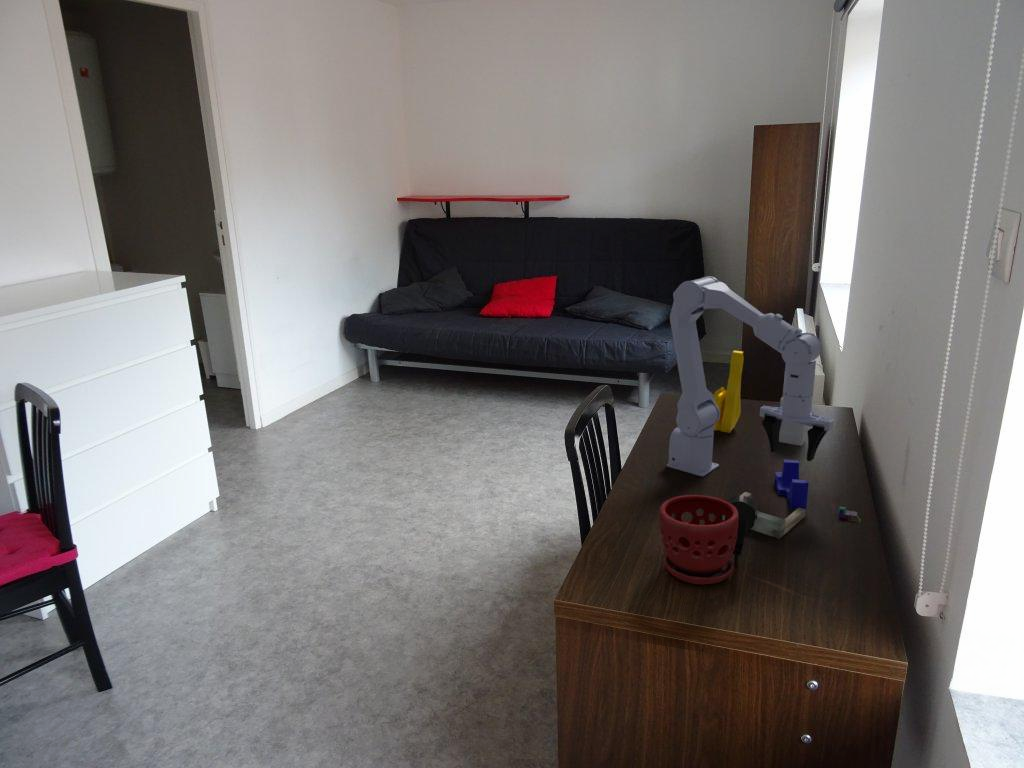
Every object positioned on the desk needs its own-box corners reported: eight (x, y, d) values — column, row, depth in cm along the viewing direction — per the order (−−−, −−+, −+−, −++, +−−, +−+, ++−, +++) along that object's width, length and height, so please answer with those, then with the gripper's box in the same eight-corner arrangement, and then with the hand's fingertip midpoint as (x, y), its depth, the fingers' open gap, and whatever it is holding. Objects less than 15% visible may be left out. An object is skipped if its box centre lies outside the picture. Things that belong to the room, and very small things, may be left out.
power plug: (718, 566, 127) (722, 504, 123) (722, 546, 133) (726, 487, 130) (752, 572, 125) (757, 509, 121) (754, 551, 131) (759, 491, 128)
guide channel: (717, 518, 144) (718, 503, 143) (744, 498, 152) (745, 484, 152) (779, 538, 136) (780, 523, 135) (804, 516, 144) (806, 501, 143)
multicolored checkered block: (838, 521, 142) (839, 511, 142) (838, 515, 145) (839, 504, 144) (861, 525, 141) (863, 514, 140) (861, 519, 143) (862, 508, 143)
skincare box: (805, 442, 182) (809, 397, 179) (801, 447, 179) (806, 402, 175) (780, 438, 185) (784, 394, 182) (776, 443, 182) (780, 398, 178)
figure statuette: (714, 418, 201) (719, 342, 195) (743, 422, 198) (749, 344, 191) (702, 440, 185) (707, 357, 179) (734, 444, 182) (739, 360, 176)
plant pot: (733, 555, 130) (737, 495, 127) (735, 595, 118) (740, 530, 115) (660, 547, 134) (662, 489, 130) (655, 586, 122) (657, 522, 118)
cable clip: (774, 484, 159) (776, 459, 157) (795, 485, 158) (798, 460, 157) (782, 508, 148) (785, 481, 146) (805, 510, 147) (808, 483, 145)
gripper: (755, 391, 148) (750, 452, 152) (826, 405, 139) (819, 469, 143) (769, 383, 153) (765, 442, 157) (839, 396, 144) (832, 459, 148)
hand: (792, 455), depth 150 cm, fingers open, 7 cm apart
